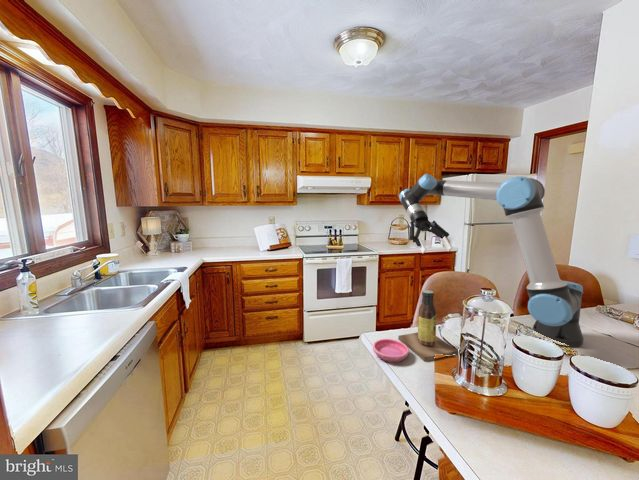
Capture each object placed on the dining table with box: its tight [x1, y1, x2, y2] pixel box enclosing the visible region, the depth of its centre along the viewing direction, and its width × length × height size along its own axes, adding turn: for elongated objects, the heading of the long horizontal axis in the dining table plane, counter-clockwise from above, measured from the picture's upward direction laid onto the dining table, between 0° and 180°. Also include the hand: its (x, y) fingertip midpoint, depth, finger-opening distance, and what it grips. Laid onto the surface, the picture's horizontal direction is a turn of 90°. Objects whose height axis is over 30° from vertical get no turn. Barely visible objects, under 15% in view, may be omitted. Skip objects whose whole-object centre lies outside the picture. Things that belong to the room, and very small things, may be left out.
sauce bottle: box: [417, 289, 437, 346], centre depth 101 cm, size 7×6×20 cm
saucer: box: [372, 338, 410, 363], centre depth 97 cm, size 12×12×3 cm
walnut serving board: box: [397, 331, 459, 362], centre depth 102 cm, size 14×16×2 cm
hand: (437, 250), depth 119 cm, fingers open, 13 cm apart
